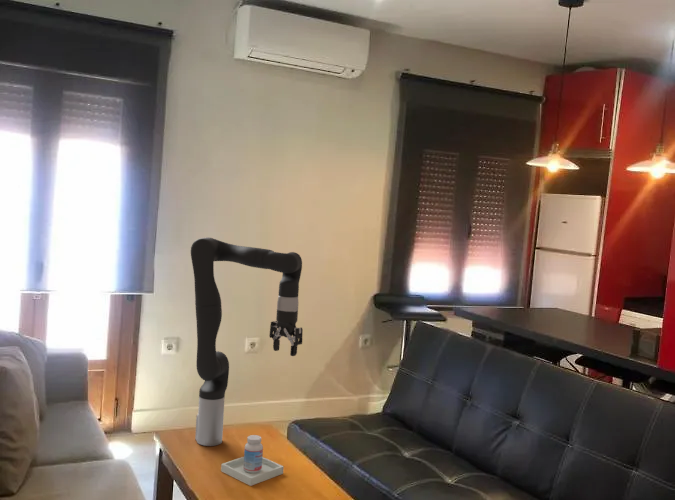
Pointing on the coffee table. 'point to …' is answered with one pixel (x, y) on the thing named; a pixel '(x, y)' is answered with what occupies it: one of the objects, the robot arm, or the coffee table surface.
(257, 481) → the tray
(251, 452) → the pill bottle
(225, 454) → the coffee table surface
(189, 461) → the coffee table surface
